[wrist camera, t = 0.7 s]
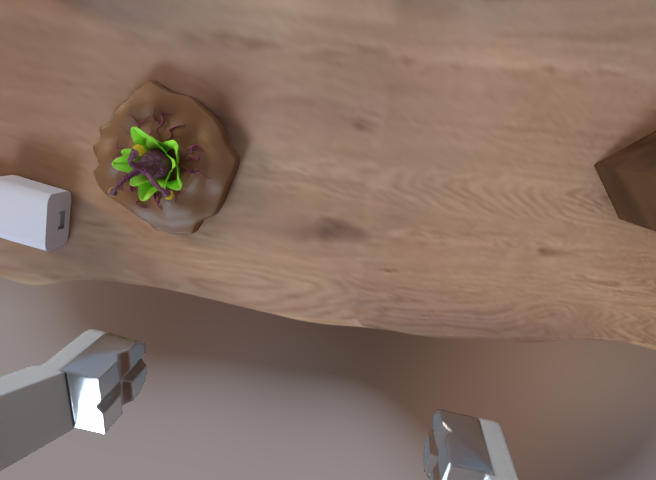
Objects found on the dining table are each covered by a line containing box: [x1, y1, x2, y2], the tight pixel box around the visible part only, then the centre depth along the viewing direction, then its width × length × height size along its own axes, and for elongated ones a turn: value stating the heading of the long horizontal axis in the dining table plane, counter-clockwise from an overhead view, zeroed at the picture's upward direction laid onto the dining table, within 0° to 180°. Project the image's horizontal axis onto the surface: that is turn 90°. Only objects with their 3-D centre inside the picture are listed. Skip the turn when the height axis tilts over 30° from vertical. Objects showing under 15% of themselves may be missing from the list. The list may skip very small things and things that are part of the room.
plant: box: [93, 81, 239, 234], centre depth 50 cm, size 20×20×11 cm
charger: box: [0, 175, 71, 251], centre depth 57 cm, size 5×9×15 cm
